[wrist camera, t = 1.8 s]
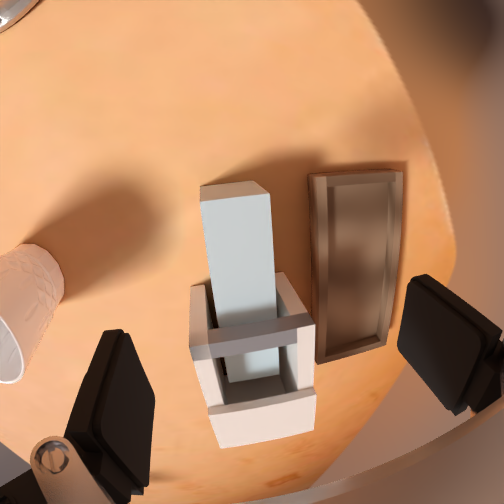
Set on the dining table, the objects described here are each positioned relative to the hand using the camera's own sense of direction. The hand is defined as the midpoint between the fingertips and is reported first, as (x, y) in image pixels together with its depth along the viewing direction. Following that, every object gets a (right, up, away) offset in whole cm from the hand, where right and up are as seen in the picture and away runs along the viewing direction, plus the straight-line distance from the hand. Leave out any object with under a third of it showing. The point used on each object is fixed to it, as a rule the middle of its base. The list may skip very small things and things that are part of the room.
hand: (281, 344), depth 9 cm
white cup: (-21, +1, +13) cm, 24 cm away
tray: (+8, +1, +18) cm, 19 cm away
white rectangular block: (-2, +2, +16) cm, 16 cm away
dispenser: (-2, -5, +18) cm, 19 cm away
